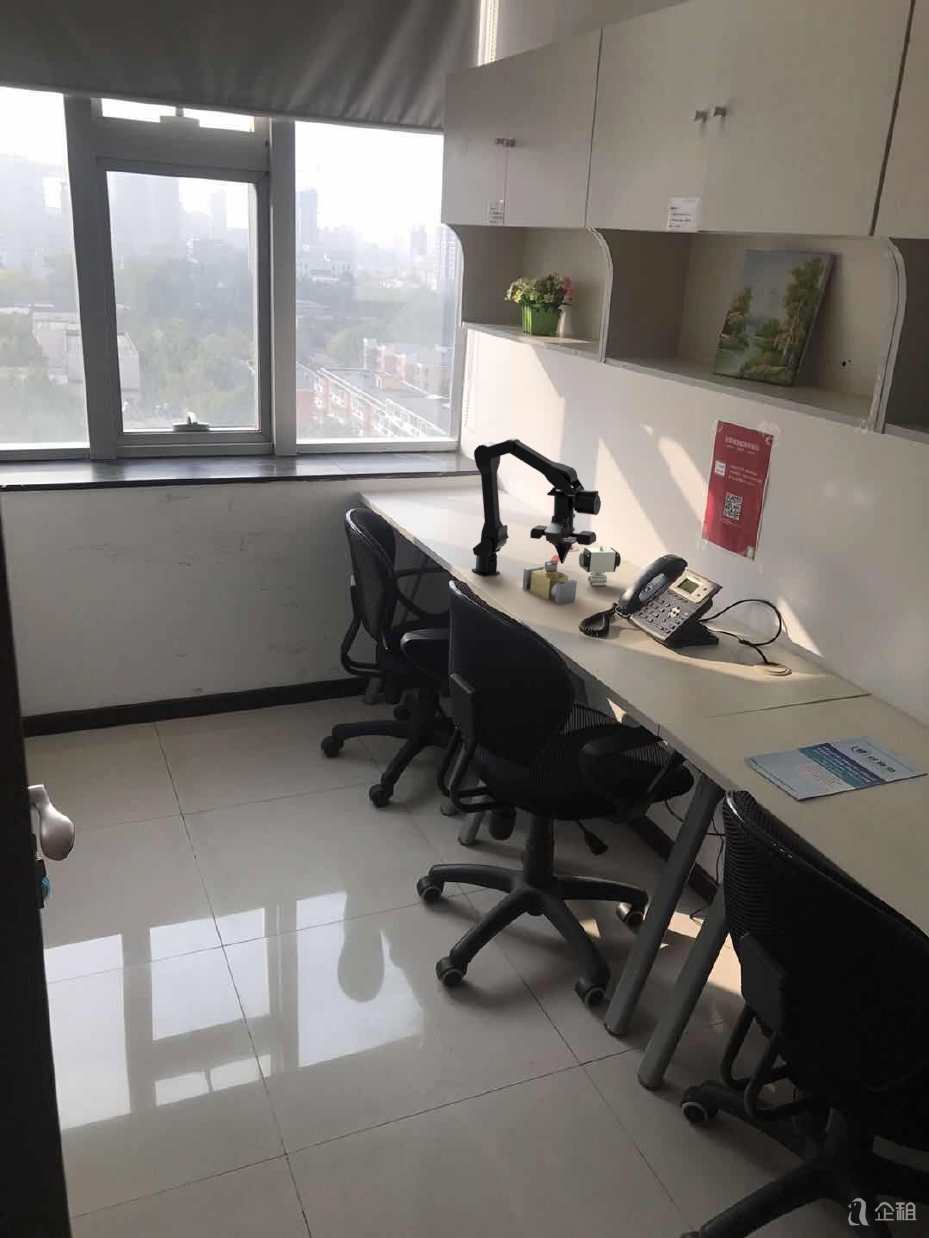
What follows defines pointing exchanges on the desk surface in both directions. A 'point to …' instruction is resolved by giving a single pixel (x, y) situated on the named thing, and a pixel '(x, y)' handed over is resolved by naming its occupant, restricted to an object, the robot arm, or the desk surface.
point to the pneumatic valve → (599, 563)
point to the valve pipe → (549, 585)
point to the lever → (552, 564)
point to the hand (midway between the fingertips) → (562, 563)
